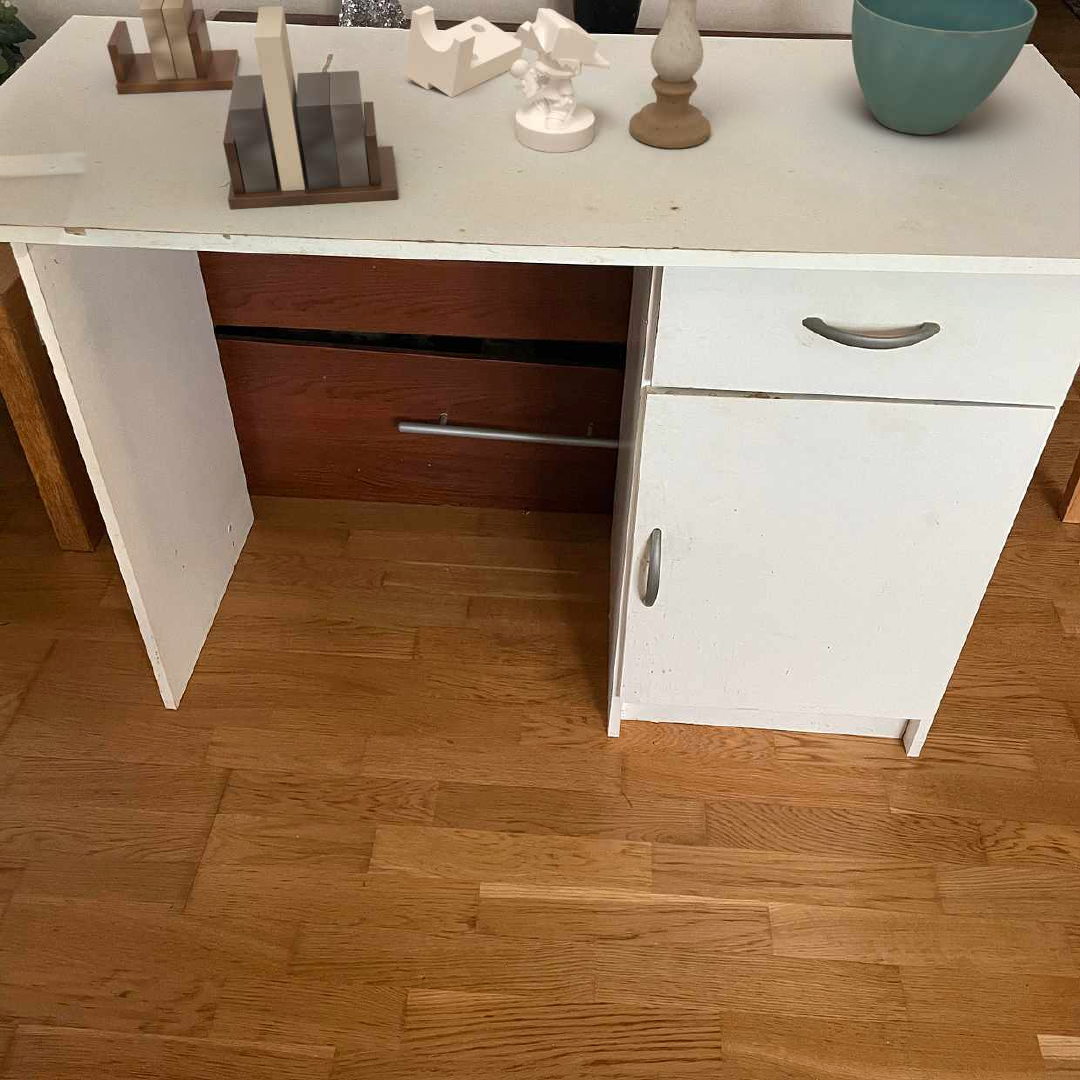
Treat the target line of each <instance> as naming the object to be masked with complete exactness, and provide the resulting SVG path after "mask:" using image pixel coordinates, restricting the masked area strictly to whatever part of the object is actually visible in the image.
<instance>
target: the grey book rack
mask: <svg viewBox="0 0 1080 1080" xmlns="http://www.w3.org/2000/svg"><path fill="white" fill-rule="evenodd" d="M360 79H361V78H360V72H359V70H348V71H347V70H342V71H340V70H339V71H319V72H317V71H315V72H298V73H297V83H296V84H297V85H296V92H297V102H296V108H297V114H298V120H299V127H300V133H301V140H302V146H303V152H304V159H305V165H306V173H305V190H294V191H282V189H281V183H280V178H279V172H278V166H277V161H276V155H275V149H274V144H273V138H272V132H271V127H270V121H269V115H268V110H267V104H266V98H265V93H264V87H263V82H262V76H261V74H250V75H249V74H248V75H247V74H246V75H236V76H234V82H233V88H232V89H231V94H230V100H229V106H228V112H227V118H226V123H225V129H224V130H225V131H224V136H223V142H222V144H223V149H224V154H225V158H226V163H227V167H228V172H229V177H230V183H229V189H228V197H227V202H228V206H229V209H230V210H233V209H234V210H235V209H237V210H238V209H253V208H254V209H255V208H269V207H286V206H287V207H289V206H304V205H306V206H307V205H321V204H322V205H323V204H324V205H325V204H338V203H339V204H340V203H341V204H342V203H356V202H357V203H359V202H374V201H390V200H391V201H393V200H399V194H398V182H397V173H396V163H395V156H394V155H395V154H394V146H393V145H385V146H379V143H378V134H377V124H376V114H375V105H374V101H363V96H362V90H361V89H362V88H361V80H360Z"/></svg>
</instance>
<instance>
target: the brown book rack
mask: <svg viewBox="0 0 1080 1080" xmlns="http://www.w3.org/2000/svg"><path fill="white" fill-rule="evenodd" d="M139 11H140V16H141V20H142V24H143V28H144V32H145V35H146V40H147V44H148V48H149V52H138V53H135V51H134V47H133V43H132V39H131V36H130V32H129V31H130V30H129V28H128V24H127V21H126V20H117V21H116V23H115V25H114V28H113V30H112V32H111V35H110V37H109V39H108V42H107V44H106V48H107V51H108V55H109V58H110V59H109V60H110V62H111V65H112V66H111V67H112V69H113V73H114V77H115V81H116V83H115V88H116V92H117V94H118V95H127V94H128V95H129V94H151V93H152V94H153V93H173V92H174V93H175V92H195V91H216V90H217V91H219V90H232V88H233V82H234V76H237V74H238V73H237V72H238V66H239V61H240V56H239V50H238V49H214V50H213V49H212V44H211V39H210V38H211V37H210V35H209V29H208V26H207V25H208V24H207V20H206V15H205V14H206V13H205V10H204V8H194V3H193V0H142V2H141V5H140V8H139Z"/></svg>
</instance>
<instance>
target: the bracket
mask: <svg viewBox="0 0 1080 1080" xmlns="http://www.w3.org/2000/svg"><path fill="white" fill-rule="evenodd" d="M411 12H412V13H411V20H410V28H409V36H408V37H409V38H408V45H407V53H406V60H405V61H406V62H405V69H404V76H405V77H407V78H408V79H410V80H412V81H413V82H415V83H416V84H417V85H419V86H421V88H423V89H425V90H430V89H432V88H436V89H438V90H439V91H441V92H442V93H444V94H445V95H447V96H448V97H450V98H453V97H456V96H458V95H460V94H462V93H465V92H467V91H469V90H470V89H473V88H475V87H477V86H479V85H482V84H483V83H485V82H487V81H489V80H491V79H494V78H495V77H497V76H499V75H501V74H503V73H506V72H508V71H511V67H512V65H513V63H514V62H515V61H517V60H520V59H522V56H523V51H524V47H520V46H521V43H522V41H521V40H519V39H518V38H514V36H512V35H510V34H508V32H506V31H504V30H502V29H501V28H499V27H497V26H496V25H494V24H493V23H491V22H489V21H488V20H486V19H485V18H483V17H482V16H480V15H478V16H476V17H474V18H471V19H468V20H467V21H463V22H462V23H460V24H457V25H455V26H452V27H450V28H447V29H445V30H443V31H440V32H439V30H438V27H437V25H436V21H435V9H434V8H433V7H432V6H430V5H425V6H422V7H419V8H418V9H415V10H412V11H411Z"/></svg>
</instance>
